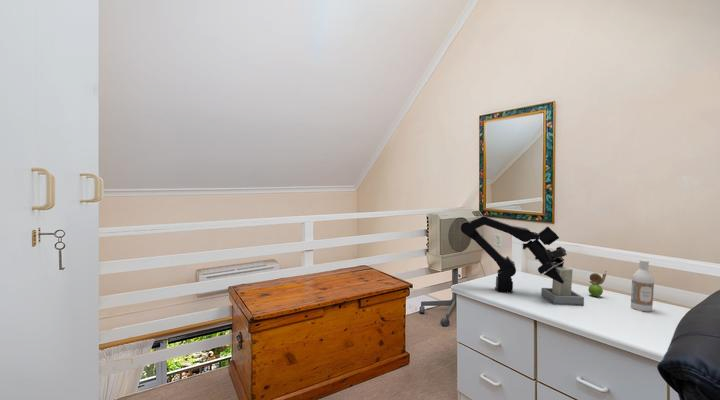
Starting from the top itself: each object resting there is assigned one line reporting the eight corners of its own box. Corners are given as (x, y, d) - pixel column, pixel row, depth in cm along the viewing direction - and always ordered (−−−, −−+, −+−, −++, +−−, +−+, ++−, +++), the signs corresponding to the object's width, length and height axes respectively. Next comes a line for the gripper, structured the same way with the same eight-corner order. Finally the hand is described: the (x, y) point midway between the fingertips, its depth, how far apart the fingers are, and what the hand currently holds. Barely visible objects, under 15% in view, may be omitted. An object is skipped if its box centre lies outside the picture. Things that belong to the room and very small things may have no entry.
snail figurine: (605, 299, 157) (606, 272, 157) (588, 296, 161) (589, 270, 160) (604, 296, 162) (606, 269, 161) (588, 293, 165) (589, 267, 165)
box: (553, 304, 149) (554, 296, 149) (541, 295, 161) (541, 287, 161) (583, 305, 148) (584, 297, 148) (568, 296, 160) (569, 288, 160)
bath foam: (634, 310, 143) (637, 261, 142) (627, 305, 150) (630, 258, 149) (655, 313, 141) (658, 263, 140) (647, 307, 148) (650, 259, 147)
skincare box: (564, 294, 157) (565, 266, 157) (571, 297, 153) (573, 269, 152) (551, 294, 156) (552, 266, 156) (558, 297, 152) (560, 269, 151)
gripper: (547, 243, 149) (576, 274, 142) (560, 238, 163) (587, 267, 156) (526, 258, 155) (553, 289, 148) (541, 253, 169) (565, 281, 162)
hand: (565, 281), depth 153 cm, fingers closed on skincare box, 7 cm apart
